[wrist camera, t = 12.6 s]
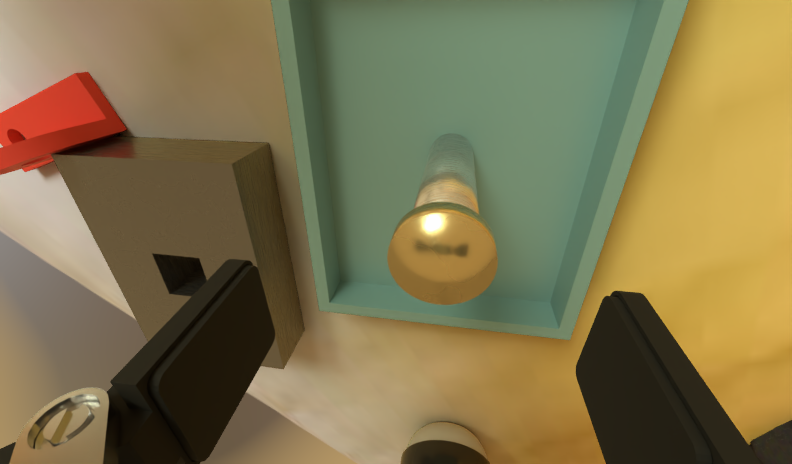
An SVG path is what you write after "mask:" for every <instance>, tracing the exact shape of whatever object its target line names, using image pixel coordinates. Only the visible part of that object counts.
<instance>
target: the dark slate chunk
mask: <svg viewBox="0 0 792 464" xmlns="http://www.w3.org/2000/svg"><path fill="white" fill-rule="evenodd" d="M749 447H750V448H751V450H752V451H753V452H754V454H755V455H756V457H757V458H758V460H759V461H760V462H761V464H792V420H791V421H789V422H787V423H785V424H783V425H780V426H778V427H776V428H774V429H773V430H771V431H769V432H767V433H765V434H764V435H762V436H759V437H758V438H756V439H754V440H752V441H751V445H749Z"/></svg>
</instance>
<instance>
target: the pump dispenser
mask: <svg viewBox="0 0 792 464" xmlns="http://www.w3.org/2000/svg"><path fill="white" fill-rule="evenodd" d="M401 464H490V463H489V461H488V459H487V455H486V453H485V450H484V448H483V446H482V445H481V443H480V442H479V440H478V439H477V438H476V437H475V436H474V435H473V434H472V433H471V432H470V431H469V430H467V429H466V428H464V427H462V426H460V425H457V424H454V423H449V422H435V423H431V424H428V425H425V426H424V427H422V428H420V429H419V430H418V431H417V432H416V433H415V434H414V435H413V437H412V438H411V440H410V442H409V444H408V446H407V449H406V450H405V451H404V452H403V454H402V457H401Z"/></svg>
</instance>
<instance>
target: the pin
mask: <svg viewBox="0 0 792 464" xmlns="http://www.w3.org/2000/svg"><path fill="white" fill-rule="evenodd" d="M387 260H388V266H389V270H390V272H391V275H392V277H393V278H394V280H395V281H396V283H397V284H398V285H399V286H400V287H401V288H402V289H403V290H404V291H405V292H407V293H408V294H410V295H411V296H413V297H415V298H417V299H419V300H421V301H424V302H427V303H431V304H437V305H453V304H459V303H463V302H466V301H469V300H471V299H473V298H475V297H477V296H478V295H480V294H481V293H482V292H483V291H485V290H486V289H487V288H488V286H489V285H490V284H491V282H492V281H493V279H494V277H495V274H496V271H497V265H498V258H497V250H496V244H495V239H494V235H493V232H492V230H491V228H490V227H489V225H488V223H487V222H486V221H485V220H484V219H483V218H482V217H481V216H480V215H479V210H478V199H477V188H476V177H475V166H474V155H473V148H472V145H471V144H470V142H469V141H468V140H467V139H466V138H465V137H463V136H462V135H459V134H455V133H449V134H445V135H442V136H440V137H439V138H437V139H436V140H435V141H434V143H433V144H432V146H431V148H430V152H429V155H428V159H427V162H426V166H425V170H424V173H423V177H422V180H421V184H420V188H419V191H418V195H417V198H416V202H415V205H414V209H413V210H411V211H410V212H408V213H407V214H406V215H405V216H404V217H403V218H402V219H401V220H400V221H399V223H398V224H397V226H396V228H395V231H394V233H393V236H392V239H391V242H390V245H389V248H388V254H387Z"/></svg>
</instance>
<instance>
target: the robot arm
mask: <svg viewBox="0 0 792 464" xmlns="http://www.w3.org/2000/svg"><path fill="white" fill-rule="evenodd" d="M274 339H275V329H274V325H273V322H272V318H271V314H270V311H269V307H268V303H267V300H266V296H265V292H264V289H263V285H262V281H261V278H260V274H259V270H258V268H257V267H256V266H253V263H252V262H251V261H249V260H239V259H228V260H227V261H225V262H224V263H223V265H222V266H221V267H220V268H219V269H218V270H217V271H216V272H215V273H214V274H213V275H212V276H211V277H210V278H209V279H208V280H207V281H206V282H205V283H204V284H203V285H202V286H201V287H200V288H199V290H198V291H197V292H196V293H195V294H194V295H193V296H192V297H191V298H190V299H189V300H188V301H187V302H186V303H185V304H184V305H183V306H182V307H181V308H180V309H179V310H178V311H177V312H176V314H175V315H174V316H173V317H172V318H171V319H170V320H169V321H168V322H167V323H166V324H165V325H164V326H163V327H162V328H161V329H160V330H159V331H158V332H157V333H156V334H155V335H154V336H153V337H152V339H151V340H150V341H149V342H148V343H147V344H146V345H145V346H144V347H143V348H142V349H141V350H140V351H139V352H138V353H137V354H136V355H135V356H134V357H133V358H132V359H131V360H130V362H129V363H128V364H127V365H126V366H125V367H124V368H123V369H122V370H121V371H120V372H119V373H118V374H117V375H116V376H115V377H114V378H113V379H112V380H111V384H112V385H113V386H112V387H111V388H110V389H109V390H108V391H107V393H106V392H105V391H104V390H103V389H99V388H83V389H79V390H76V391H72V392H70V393H68V394H66V395H63V396H61V397H59V398H57V399H56V400H54V401H53V402H51V403H49V404H48V405H46V406H45V407H43V408H42V409H41V410H40V411H39V412H38V413H36V414H35V415H34V416H33V417H32V418H31V419H30V420H29V421H28V423H27V424H26V425H25V426H24V427H23V429H22V431H21V432H20V434H19V436H18V439H17V441H16V442H14V443H12V444H10V445H8V446H6V447H4V448H1V449H0V464H200V462H202V461H205V460H206V459H207V458H208V457H209V456H210V454H211V452H212V451H213V449H214V447H215V445H216V444H217V442H218V440H219V438H220V437H221V435H222V433H223V431H224V429H225V428H226V426H227V424H228V422H229V420H230V419H231V417H232V415H233V414H234V412H235V410H236V408H237V406H238V405H239V403H240V401H241V399H242V397H243V395H244V394H245V392H246V391H247V389H248V387H249V385H250V383H251V382H252V380H253V378H254V376H255V375H256V373H257V371H258V369H259V368H260V366H261V364H262V362H263V361H264V359H265V357H266V355H267V353H268V352H269V350H270V348H271V346H272V345H273V342H274ZM576 377H577V380H578V383H579V386H580V389H581V392H582V395H583V398H584V401H585V404H586V407H587V410H588V413H589V415H590V418H591V421H592V424H593V427H594V430H595V433H596V436H597V439H598V442H599V445H600V447H601V450H602V453H603V456H604V459H605V462H606V464H761V462H760V461H759V460H758V458H757V457H756V455H755V454H754V452H753V451H752V450H751V448H750V447H749V445H748V444H747V442H746V441H745V439H744V438H743V437H742V435H741V434H740V432H739V431H738V429H737V428H736V427H735V425H734V424H733V422H732V421H731V419H730V418H729V416H728V415H727V414H726V412H725V411H724V409H723V408H722V406H721V405H720V403H719V402H718V401H717V399H716V398H715V396H714V395H713V393H712V392H711V391H710V389H709V388H708V386H707V385H706V383H705V382H704V380H703V379H702V378H701V376H700V375H699V373H698V372H697V370H696V369H695V368H694V366H693V365H692V363H691V362H690V360H689V359H688V357H687V356H686V355H685V353H684V352H683V350H682V349H681V347H680V346H679V345H678V343H677V342H676V340H675V339H674V337H673V336H672V334H671V333H670V332H669V330H668V329H667V327H666V326H665V324H664V323H663V322H662V320H661V319H660V317H659V316H658V314H657V313H656V311H655V310H654V309H653V307H652V306H651V304H650V303H649V301H648V300H647V299H646V297H645V296H644V295H643V294H641V293H635V292H623V291H614V292H613V293H612V294H611V295H610V296H605V297H604V299H603V300H602V303H601V305H600V308H599V310H598V313H597V315H596V318H595V320H594V323H593V325H592V328H591V330H590V333H589V335H588V338H587V340H586V342H585V345H584V347H583V350H582V352H581V355H580V357H579V360H578V362H577V365H576Z"/></svg>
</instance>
